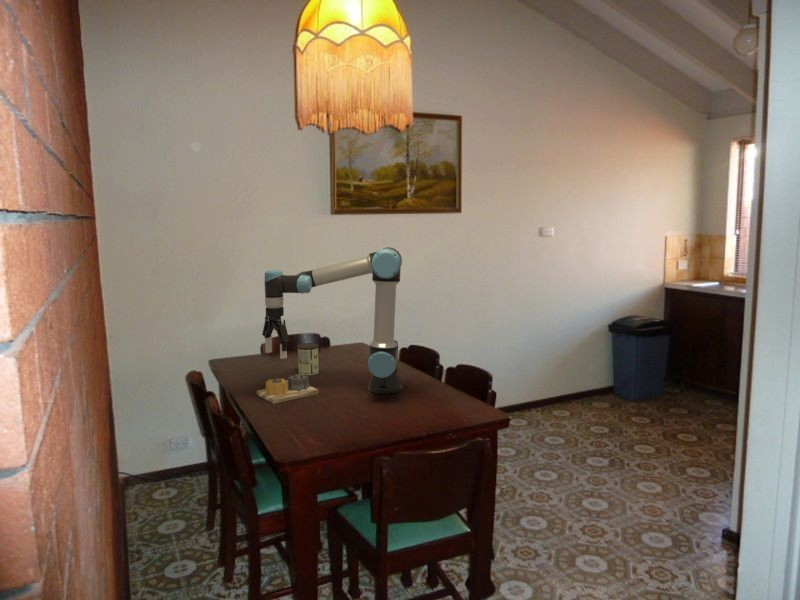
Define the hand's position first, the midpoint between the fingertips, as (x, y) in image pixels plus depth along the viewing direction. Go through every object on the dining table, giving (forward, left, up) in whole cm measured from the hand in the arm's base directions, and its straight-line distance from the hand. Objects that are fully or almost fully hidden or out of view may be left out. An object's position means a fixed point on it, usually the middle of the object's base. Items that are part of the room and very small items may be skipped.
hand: (276, 355), depth 249 cm
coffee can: (+25, -30, -19) cm, 43 cm away
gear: (0, 0, -17) cm, 17 cm away
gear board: (0, -5, -18) cm, 19 cm away
